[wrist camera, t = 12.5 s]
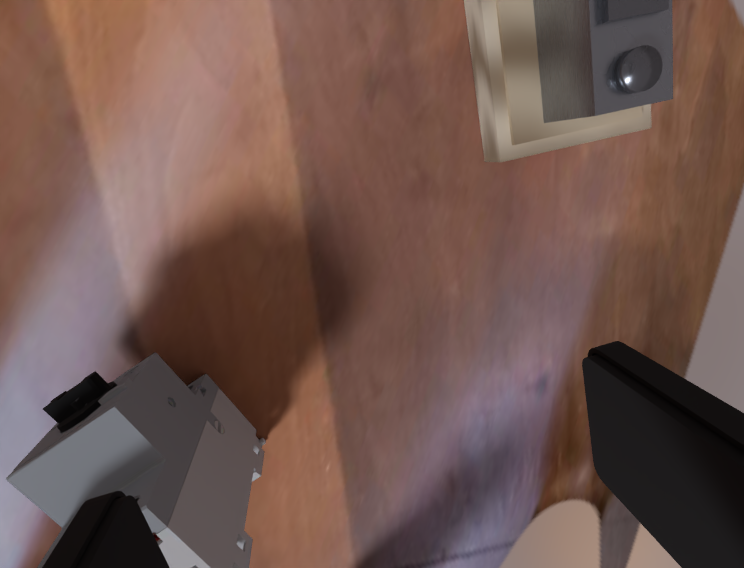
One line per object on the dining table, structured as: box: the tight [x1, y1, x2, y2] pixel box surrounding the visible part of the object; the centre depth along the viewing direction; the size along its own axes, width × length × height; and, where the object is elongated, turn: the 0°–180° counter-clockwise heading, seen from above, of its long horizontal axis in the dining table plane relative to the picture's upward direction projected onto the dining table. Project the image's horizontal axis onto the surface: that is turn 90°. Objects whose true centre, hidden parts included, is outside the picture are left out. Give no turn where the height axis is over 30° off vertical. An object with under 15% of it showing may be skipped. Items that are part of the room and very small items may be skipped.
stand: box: [464, 0, 651, 162], centre depth 33 cm, size 12×12×3 cm
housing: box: [533, 0, 673, 123], centre depth 28 cm, size 8×5×7 cm, turn 12°
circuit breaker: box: [6, 353, 266, 568], centre depth 31 cm, size 8×14×15 cm, turn 33°
